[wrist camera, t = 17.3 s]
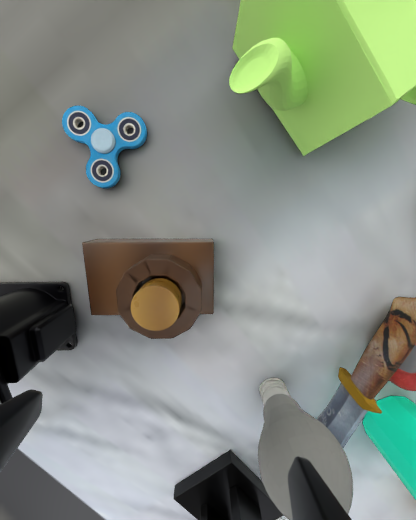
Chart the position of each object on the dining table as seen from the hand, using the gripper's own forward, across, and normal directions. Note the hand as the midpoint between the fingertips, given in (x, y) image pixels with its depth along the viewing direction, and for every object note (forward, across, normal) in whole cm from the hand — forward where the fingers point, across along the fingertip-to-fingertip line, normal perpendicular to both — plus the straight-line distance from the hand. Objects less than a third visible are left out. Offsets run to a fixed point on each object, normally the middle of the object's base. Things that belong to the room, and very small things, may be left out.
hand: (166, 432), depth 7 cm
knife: (+14, -15, +7) cm, 21 cm away
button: (+9, +3, 0) cm, 9 cm away
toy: (+11, +10, -11) cm, 18 cm away
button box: (+12, +4, -1) cm, 13 cm away
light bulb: (+13, -9, +8) cm, 18 cm away
